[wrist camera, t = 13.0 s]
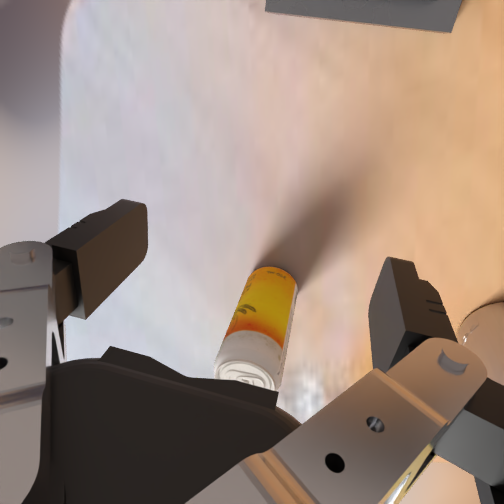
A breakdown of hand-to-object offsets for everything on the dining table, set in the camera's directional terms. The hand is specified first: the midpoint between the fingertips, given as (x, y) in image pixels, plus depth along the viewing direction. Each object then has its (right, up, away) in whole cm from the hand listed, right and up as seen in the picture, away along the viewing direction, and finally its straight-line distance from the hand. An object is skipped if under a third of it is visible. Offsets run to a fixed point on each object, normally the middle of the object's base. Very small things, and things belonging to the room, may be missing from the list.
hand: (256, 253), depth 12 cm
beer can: (+2, -4, +32) cm, 32 cm away
